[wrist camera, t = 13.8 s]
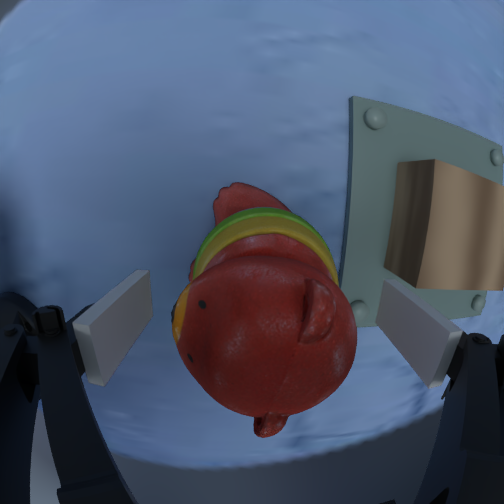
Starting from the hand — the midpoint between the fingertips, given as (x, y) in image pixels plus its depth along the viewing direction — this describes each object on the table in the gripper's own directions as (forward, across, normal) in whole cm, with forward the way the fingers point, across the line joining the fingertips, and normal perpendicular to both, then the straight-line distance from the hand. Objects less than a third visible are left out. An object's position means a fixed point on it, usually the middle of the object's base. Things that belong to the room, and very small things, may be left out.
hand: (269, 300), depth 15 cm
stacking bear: (+11, 0, 0) cm, 11 cm away
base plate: (+11, +18, +4) cm, 22 cm away
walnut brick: (+10, +18, +4) cm, 21 cm away
